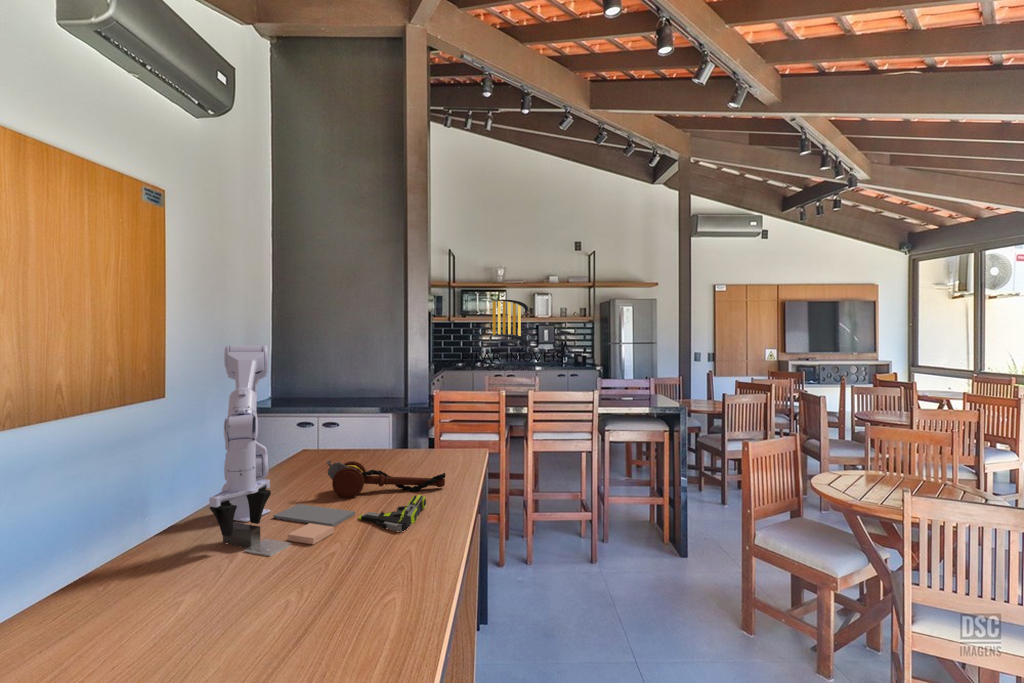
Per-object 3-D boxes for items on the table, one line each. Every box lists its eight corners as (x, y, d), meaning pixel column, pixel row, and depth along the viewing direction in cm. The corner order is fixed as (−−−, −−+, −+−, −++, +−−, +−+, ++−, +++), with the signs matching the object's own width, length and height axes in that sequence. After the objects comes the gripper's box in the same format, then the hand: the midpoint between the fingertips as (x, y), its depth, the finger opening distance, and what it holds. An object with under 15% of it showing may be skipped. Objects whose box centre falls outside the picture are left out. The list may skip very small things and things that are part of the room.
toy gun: (373, 493, 138) (427, 490, 137) (375, 507, 139) (428, 505, 138) (345, 523, 119) (407, 520, 118) (347, 540, 119) (409, 538, 118)
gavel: (442, 491, 157) (444, 502, 148) (328, 488, 151) (322, 498, 141) (445, 460, 157) (447, 468, 148) (331, 455, 151) (325, 463, 141)
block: (287, 534, 113) (313, 538, 111) (309, 523, 120) (333, 526, 118) (287, 541, 113) (313, 545, 111) (309, 529, 120) (333, 533, 118)
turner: (216, 547, 110) (216, 529, 110) (238, 536, 116) (238, 519, 116) (270, 556, 105) (270, 538, 105) (291, 545, 111) (291, 527, 111)
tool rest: (273, 518, 127) (273, 515, 127) (298, 506, 136) (298, 503, 136) (332, 527, 121) (332, 523, 121) (355, 514, 130) (355, 511, 130)
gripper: (227, 478, 103) (227, 544, 103) (280, 462, 117) (280, 519, 117) (201, 475, 105) (201, 539, 106) (256, 459, 119) (256, 516, 119)
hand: (241, 529), depth 112 cm, fingers open, 7 cm apart
